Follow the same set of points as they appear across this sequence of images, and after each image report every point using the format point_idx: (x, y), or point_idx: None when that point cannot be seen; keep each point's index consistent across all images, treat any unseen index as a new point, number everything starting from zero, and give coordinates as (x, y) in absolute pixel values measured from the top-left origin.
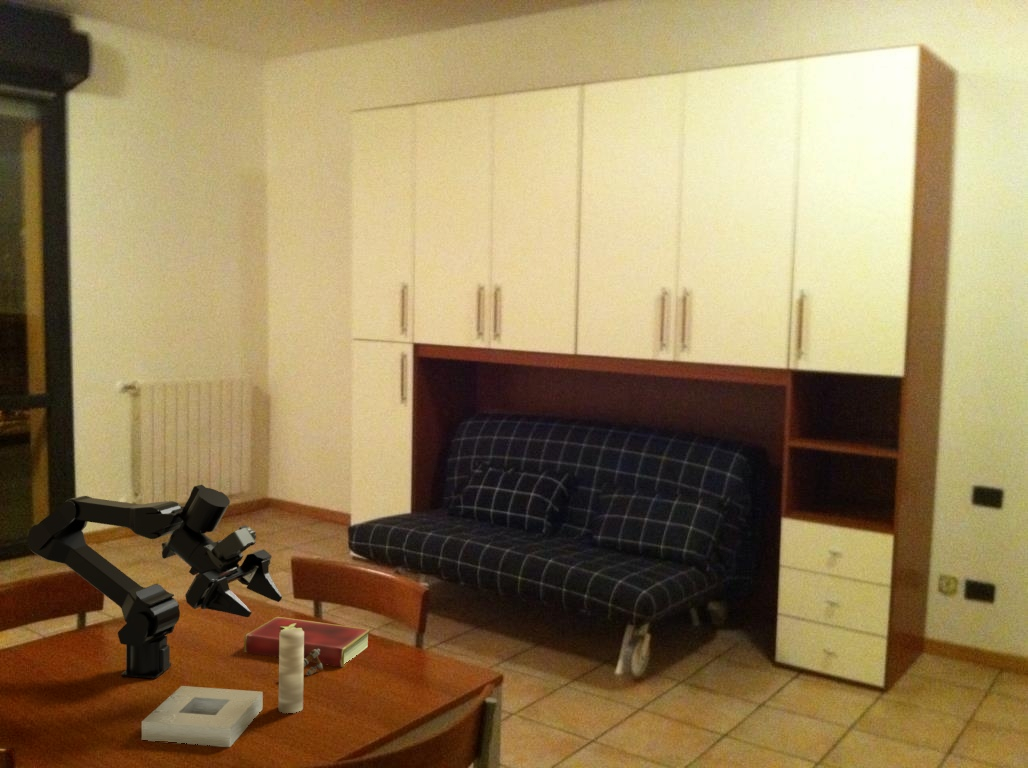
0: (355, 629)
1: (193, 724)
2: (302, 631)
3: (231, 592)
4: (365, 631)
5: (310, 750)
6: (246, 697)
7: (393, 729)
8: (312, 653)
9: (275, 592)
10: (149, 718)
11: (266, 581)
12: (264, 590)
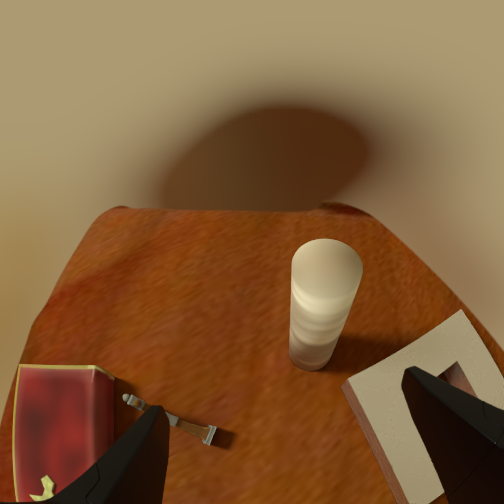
0: (21, 387)
1: (488, 356)
2: (299, 252)
3: (495, 431)
4: (26, 367)
5: (384, 247)
6: (384, 381)
7: (280, 212)
8: (140, 403)
9: (152, 432)
10: None
11: (121, 491)
12: (149, 498)
